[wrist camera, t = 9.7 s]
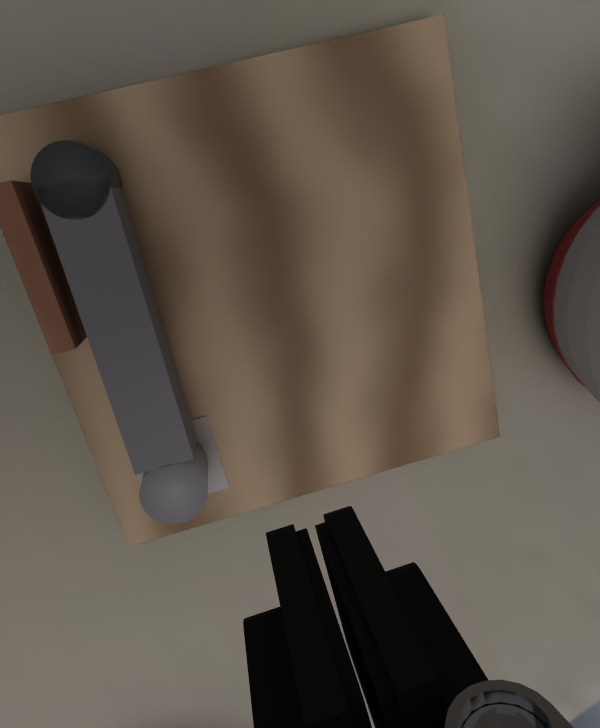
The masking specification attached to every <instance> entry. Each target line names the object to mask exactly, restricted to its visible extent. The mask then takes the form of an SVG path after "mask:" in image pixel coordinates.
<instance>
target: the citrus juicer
mask: <svg viewBox="0 0 600 728" xmlns="http://www.w3.org/2000/svg"><path fill="white" fill-rule="evenodd" d="M544 316H545V320H546V325H547V329H548V333H549V335H550V337H551V339H552V341H553V343H554V346H555V348H556V350H557V352H558V353H559V355H560V357H561V359H562V360H563V362H564V364H565V365H566V366H567V368H568V369H569V370H570V372H571V373H572V374H573V375H574V377H575V378H576V379H577V380H578V381H579V382H580V383H581V384H583V385H584V386H585V387H586V388H587V389H588V390H589V391H590V392H591V393H592V395H593V396H594V397H595V398H596V399H597V400H598V401H600V200H599V201H598V202H596V203H595V204H594V205H592V206H591V207H590V208H589V209H588V210H587V211H586V212H585V213H584V214H582V215H581V216H580V217H579V218H578V219H577V220H576V221H575V223H574V224H573V225H572V227H571V228H570V229H569V230H568V232H567V233H566V234H565V236H564V237H563V239H562V241H561V243H560V244H559V246H558V248H557V250H556V252H555V254H554V256H553V259H552V262H551V265H550V267H549V270H548V273H547V277H546V284H545V290H544Z"/></svg>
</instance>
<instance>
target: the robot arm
mask: <svg viewBox="0 0 600 728" xmlns="http://www.w3.org/2000/svg"><path fill="white" fill-rule="evenodd" d="M324 520H325V522H324V523H321V524H318V525H315V527H316V531H317V535H318V539H319V542H320V546H321V550H322V553H323V557H324V561H325V564H326V568H327V572H328V576H329V579H330V583H331V587H332V590H333V594H334V598H335V601H336V605H337V609H338V612H339V616H340V620H341V623H342V627H343V631H344V634H345V638H346V641H347V645H348V648H349V651H350V654H351V657H352V660H353V663H354V666H355V669H356V672H357V675H358V678H359V681H360V684H361V687H362V690H363V693H364V696H365V699H366V702H367V704H368V707H369V710H370V713H371V716H372V719H373V722H374V725H375V728H573V727H572V725H571V724H570V723H569V722H568V721H567V720H566V719H565V718H564V717H563V716H562V715H561V714H560V712H559V711H558V710H557V709H556V708H555V707H554V706H553V705H552V704H551V703H550V702H549V701H547V700H546V699H545V698H544V697H543V696H541V695H540V694H539V693H538V692H536V691H534V690H532V689H530V688H528V687H526V686H524V685H522V684H520V683H515V682H510V681H506V680H488V679H487V677H486V676H485V674H484V672H483V671H482V669H481V667H480V666H479V664H478V663H477V661H476V659H475V658H474V656H473V654H472V653H471V651H470V650H469V648H468V646H467V645H466V643H465V641H464V640H463V638H462V637H461V635H460V633H459V632H458V630H457V628H456V627H455V625H454V624H453V622H452V620H451V619H450V617H449V615H448V614H447V612H446V611H445V609H444V607H443V606H442V604H441V602H440V601H439V599H438V598H437V596H436V594H435V593H434V591H433V589H432V588H431V586H430V585H429V583H428V581H427V580H426V578H425V576H424V575H423V573H422V572H421V570H420V569H419V567H418V566H417V564H415V563H414V562H413V563H410V564H407V565H404V566H401V567H398V568H395V569H392V570H389V571H386V572H385V571H384V569H383V567H382V565H381V563H380V561H379V559H378V557H377V555H376V553H375V551H374V549H373V547H372V545H371V543H370V541H369V539H368V537H367V536H366V534H365V532H364V530H363V528H362V526H361V524H360V522H359V520H358V518H357V516H356V514H355V512H354V510H353V508H352V507H351V506H349V507H346V508H342V509H339V510H336V511H333V512H330V513H327V514H324ZM266 537H267V542H268V547H269V552H270V557H271V562H272V567H273V572H274V576H275V581H276V586H277V591H278V596H279V601H280V606H281V607H278V608H275V609H272V610H269V611H266V612H263V613H260V614H257V615H254V616H251V617H248V618H245V619H244V621H243V624H244V636H245V646H246V655H247V665H248V675H249V684H250V694H251V704H252V713H253V723H254V728H372V727H371V723H370V719H369V716H368V712H367V709H366V706H365V702H364V699H363V696H362V693H361V690H360V687H359V683H358V680H357V677H356V674H355V671H354V668H353V665H352V663H351V660H350V657H349V654H348V651H347V648H346V645H345V642H344V639H343V636H342V633H341V630H340V627H339V624H338V621H337V618H336V615H335V612H334V609H333V606H332V603H331V600H330V597H329V594H328V591H327V588H326V585H325V582H324V579H323V576H322V573H321V570H320V567H319V564H318V561H317V558H316V555H315V552H314V549H313V546H312V543H311V540H310V537H309V534H308V531H307V529H303V530H299V531H295V528H294V525H293V524H292V525H289V526H286V527H283V528H280V529H276V530H273V531H270V532H267V533H266Z"/></svg>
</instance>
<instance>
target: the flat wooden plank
mask: <svg viewBox="0 0 600 728" xmlns="http://www.w3.org/2000/svg"><path fill="white" fill-rule="evenodd" d="M60 140H71V141H76V142H80V143H82V144H85V145H87V146H89V147H91V148H93V149H95V150H97V151H99V152H101V153H102V154H104V155H105V156H107V157H108V158H109V159H110V160H111V161H112V162H113V163H114V164H115V166H116V167H117V169H118V171H119V173H120V176H121V180H122V190H123V193H124V197H125V200H126V203H127V207H128V210H129V213H130V217H131V220H132V223H133V227H134V230H135V233H136V237H137V240H138V243H139V247H140V250H141V253H142V257H143V260H144V263H145V267H146V270H147V273H148V277H149V280H150V283H151V286H152V290H153V293H154V296H155V300H156V303H157V306H158V310H159V313H160V316H161V320H162V323H163V326H164V330H165V333H166V336H167V340H168V343H169V346H170V350H171V353H172V356H173V360H174V363H175V366H176V370H177V373H178V376H179V379H180V383H181V386H182V389H183V393H184V396H185V399H186V403H187V406H188V409H189V413H190V416H191V419H192V423H193V426H194V429H195V433H196V440H195V443H196V444H197V445H199V446H200V447H201V448H202V449H203V451H204V452H205V454H206V456H207V460H208V497H207V501H206V504H205V506H204V508H203V509H202V511H201V512H200V513H199V514H198V515H197V516H196V517H194V518H193V519H191V520H189V521H187V522H184V523H180V524H165V523H161V522H159V521H156V520H154V519H153V518H151V517H150V516H149V515H148V514H147V513H146V512H145V511H144V509H143V508H142V506H141V503H140V500H139V490H140V486H141V482H142V478H143V474H144V473H141V474H137V475H135V473H134V470H133V467H132V465H131V462H130V459H129V456H128V453H127V450H126V447H125V444H124V442H123V439H122V436H121V433H120V430H119V427H118V424H117V421H116V419H115V416H114V413H113V410H112V407H111V404H110V401H109V398H108V396H107V393H106V390H105V387H104V384H103V381H102V378H101V376H100V373H99V370H98V367H97V364H96V361H95V358H94V355H93V353H92V350H91V347H90V344H89V341H88V338H87V335H86V332H85V330H84V327H83V324H82V321H81V318H80V315H79V312H78V310H77V307H76V304H75V301H74V298H73V295H72V292H71V289H70V287H69V284H68V281H67V278H66V275H65V272H64V269H63V266H62V264H61V261H60V258H59V255H58V252H57V249H56V246H55V243H54V241H53V238H52V235H51V232H50V229H49V226H48V223H47V221H46V218H45V215H44V212H43V209H42V206H41V203H40V201H39V200H38V199H37V197H36V195H35V193H34V191H33V188H32V185H31V176H30V173H31V167H32V163H33V161H34V158H35V157H36V155H37V154H38V152H39V151H40V150H41V149H42V148H44V147H45V146H47V145H48V144H50V143H52V142H56V141H60ZM0 226H1V229H2V231H3V234H4V236H5V239H6V241H7V244H8V246H9V249H10V251H11V254H12V256H13V259H14V261H15V264H16V266H17V269H18V271H19V274H20V276H21V279H22V281H23V284H24V286H25V289H26V291H27V294H28V296H29V299H30V301H31V304H32V306H33V309H34V311H35V314H36V316H37V319H38V321H39V324H40V326H41V329H42V331H43V334H44V336H45V339H46V342H47V344H48V347H49V349H50V352H51V354H52V356H53V358H54V361H55V363H56V366H57V368H58V371H59V373H60V376H61V378H62V381H63V383H64V386H65V388H66V391H67V393H68V396H69V398H70V401H71V403H72V406H73V408H74V411H75V413H76V416H77V418H78V421H79V423H80V426H81V428H82V431H83V433H84V436H85V438H86V441H87V443H88V446H89V448H90V451H91V454H92V456H93V459H94V461H95V464H96V466H97V469H98V471H99V474H100V476H101V479H102V481H103V484H104V486H105V489H106V491H107V494H108V496H109V499H110V501H111V504H112V506H113V509H114V511H115V514H116V516H117V519H118V521H119V524H120V526H121V529H122V531H123V534H124V536H125V539H126V541H127V544H128V546H133V545H136V544H139V543H143V542H146V541H150V540H153V539H156V538H160V537H163V536H166V535H170V534H173V533H177V532H180V531H183V530H187V529H190V528H193V527H197V526H200V525H204V524H207V523H210V522H214V521H217V520H220V519H224V518H227V517H231V516H234V515H237V514H241V513H244V512H247V511H251V510H254V509H258V508H261V507H264V506H268V505H271V504H274V503H278V502H281V501H284V500H288V499H291V498H295V497H298V496H301V495H305V494H308V493H311V492H315V491H318V490H322V489H325V488H328V487H332V486H335V485H338V484H342V483H345V482H349V481H352V480H355V479H359V478H362V477H365V476H369V475H372V474H376V473H379V472H382V471H386V470H389V469H392V468H396V467H399V466H403V465H406V464H409V463H413V462H416V461H419V460H423V459H426V458H430V457H433V456H436V455H440V454H443V453H446V452H450V451H453V450H457V449H460V448H463V447H467V446H470V445H473V444H477V443H480V442H484V441H487V440H490V439H494V438H497V437H500V433H499V425H498V418H497V410H496V403H495V395H494V388H493V380H492V372H491V365H490V357H489V350H488V342H487V335H486V327H485V320H484V312H483V305H482V297H481V289H480V282H479V274H478V267H477V259H476V252H475V244H474V237H473V229H472V222H471V214H470V206H469V199H468V191H467V184H466V176H465V169H464V161H463V154H462V146H461V139H460V131H459V123H458V116H457V108H456V101H455V93H454V86H453V78H452V71H451V63H450V56H449V48H448V40H447V33H446V25H445V18H444V14H443V15H438V16H434V17H429V18H425V19H421V20H416V21H412V22H407V23H403V24H399V25H394V26H390V27H385V28H381V29H377V30H372V31H368V32H364V33H359V34H355V35H350V36H346V37H342V38H337V39H333V40H328V41H324V42H320V43H315V44H311V45H306V46H302V47H298V48H293V49H289V50H284V51H280V52H276V53H271V54H267V55H262V56H258V57H254V58H249V59H245V60H240V61H236V62H232V63H227V64H223V65H219V66H214V67H210V68H205V69H201V70H197V71H192V72H188V73H183V74H179V75H175V76H170V77H166V78H161V79H157V80H153V81H148V82H144V83H139V84H135V85H131V86H126V87H122V88H117V89H113V90H109V91H104V92H100V93H95V94H91V95H87V96H82V97H78V98H74V99H69V100H65V101H60V102H56V103H52V104H47V105H43V106H38V107H34V108H30V109H25V110H21V111H16V112H12V113H8V114H3V115H0Z"/></svg>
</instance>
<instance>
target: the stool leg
mask: <svg viewBox="0 0 600 728" xmlns="http://www.w3.org/2000/svg"><path fill="white" fill-rule="evenodd" d="M30 176H31V185H32V188H33V191H34V193H35V195H36V197H37V199H38V200H39V201H40V203H41V206H42V209H43V212H44V215H45V218H46V221H47V223H48V226H49V229H50V232H51V235H52V238H53V241H54V243H55V246H56V249H57V252H58V255H59V258H60V261H61V264H62V266H63V269H64V272H65V275H66V278H67V281H68V284H69V287H70V289H71V292H72V295H73V298H74V301H75V304H76V307H77V310H78V312H79V315H80V318H81V321H82V324H83V327H84V330H85V332H86V335H87V338H88V341H89V344H90V347H91V350H92V353H93V355H94V358H95V361H96V364H97V367H98V370H99V373H100V376H101V378H102V381H103V384H104V387H105V390H106V393H107V396H108V398H109V401H110V404H111V407H112V410H113V413H114V416H115V419H116V421H117V424H118V427H119V430H120V433H121V436H122V439H123V442H124V444H125V447H126V450H127V453H128V456H129V459H130V462H131V465H132V467H133V470H134V473H135V475H137V474H141V473H144V474H143V478H142V482H141V486H140V490H139V500H140V503H141V506H142V508H143V509H144V511H145V512H146V513H147V514H148V515H149V516H150V517H151V518H153V519H154V520H156V521H159V522H161V523H165V524H180V523H184V522H187V521H189V520H191V519H193V518H194V517H196V516H197V515H198V514H199V513H200V512H201V511H202V509H203V508H204V506H205V504H206V501H207V497H208V460H207V456H206V454H205V452H204V451H203V449H202V448H201V447H200V446H199V445H197V444H196V443H195V440H196V433H195V429H194V426H193V423H192V419H191V416H190V413H189V409H188V406H187V403H186V399H185V396H184V393H183V389H182V386H181V383H180V379H179V376H178V373H177V370H176V366H175V363H174V360H173V356H172V353H171V350H170V346H169V343H168V340H167V336H166V333H165V330H164V326H163V323H162V320H161V316H160V313H159V310H158V306H157V303H156V300H155V296H154V293H153V290H152V286H151V283H150V280H149V277H148V273H147V270H146V267H145V263H144V260H143V257H142V253H141V250H140V247H139V243H138V240H137V237H136V233H135V230H134V227H133V223H132V220H131V217H130V213H129V210H128V207H127V203H126V200H125V197H124V193H123V190H122V180H121V176H120V173H119V171H118V169H117V167H116V166H115V164H114V163H113V162H112V161H111V160H110V159H109V158H108V157H107V156H105V155H104V154H102V153H101V152H99V151H97V150H95V149H93V148H91V147H89V146H87V145H85V144H82V143H80V142H76V141H71V140H60V141H56V142H52V143H50V144H48V145H47V146H45V147H44V148H42V149H41V150H40V151H39V152H38V154H37V155H36V157H35V158H34V161H33V163H32V167H31V173H30Z"/></svg>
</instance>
